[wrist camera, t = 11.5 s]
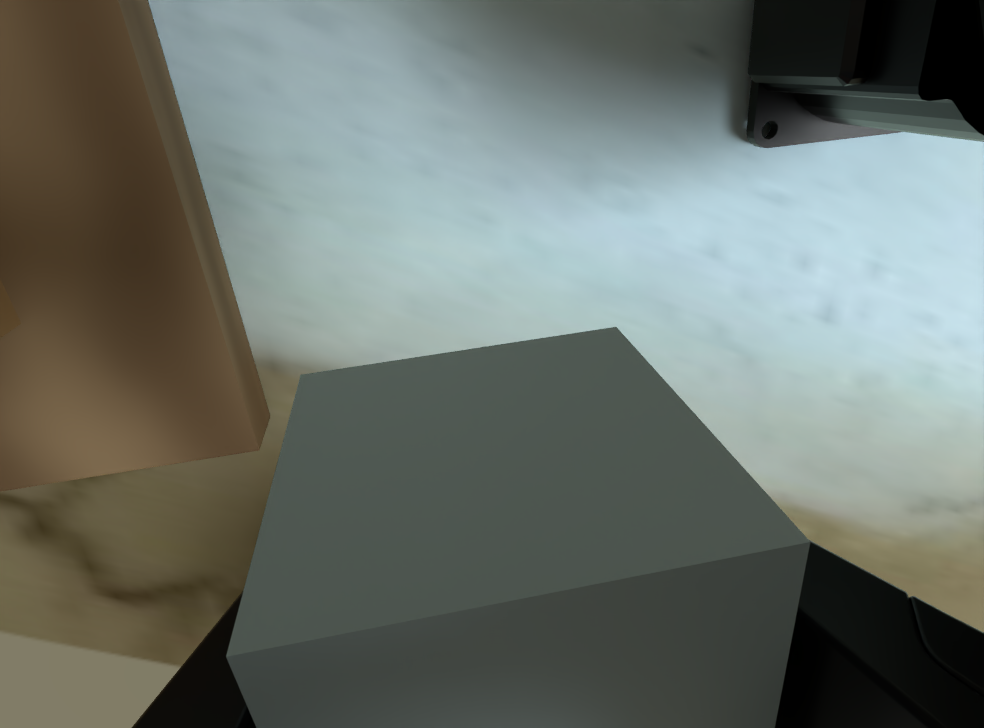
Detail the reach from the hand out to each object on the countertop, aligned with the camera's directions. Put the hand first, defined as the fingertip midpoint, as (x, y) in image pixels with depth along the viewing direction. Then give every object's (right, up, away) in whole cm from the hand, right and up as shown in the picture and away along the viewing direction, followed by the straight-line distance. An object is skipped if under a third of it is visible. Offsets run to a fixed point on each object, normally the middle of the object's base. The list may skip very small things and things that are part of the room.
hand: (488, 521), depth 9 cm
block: (0, 0, +1) cm, 1 cm away
